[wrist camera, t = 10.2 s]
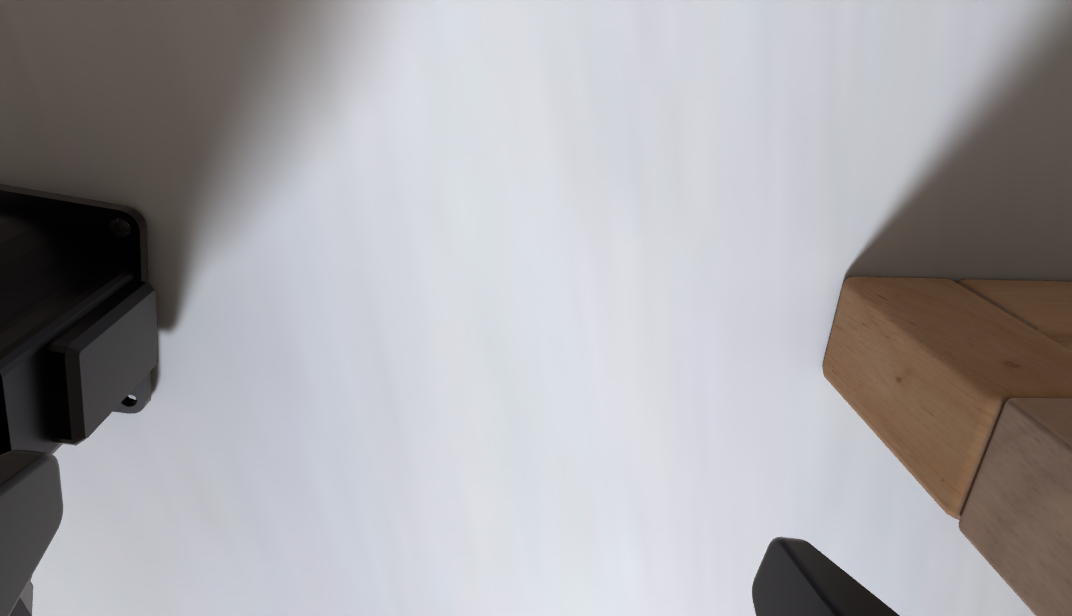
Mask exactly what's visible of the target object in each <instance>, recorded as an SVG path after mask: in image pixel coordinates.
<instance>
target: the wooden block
mask: <svg viewBox="0 0 1072 616" xmlns="http://www.w3.org/2000/svg"><path fill="white" fill-rule="evenodd" d="M823 373H824V377H825V378H826V379H827V380H828V381H829V382H830V383H831V384H832V386H833V387H834V388H835V389H836V390H837V391H838V392H839V393H840V394H841V396H842V397H843V398H844V399H845V400H846V401H847V402H848V403H849V405H850V406H851V407H852V408H853V409H854V410H855V411H856V412H857V414H858V415H859V416H860V417H861V418H862V419H863V420H864V421H865V423H866V424H867V425H868V426H869V427H870V428H871V429H872V430H873V432H874V433H875V434H876V435H877V436H878V437H879V438H880V439H881V440H882V442H883V443H884V444H885V445H886V446H887V447H888V448H889V449H890V451H891V452H892V453H893V454H894V455H895V456H896V457H897V458H898V460H899V461H900V462H901V463H902V464H903V465H904V466H905V467H906V469H907V470H908V471H909V472H910V473H911V474H912V475H913V476H914V477H915V479H916V480H917V481H918V482H919V483H920V484H921V485H922V486H923V488H924V489H925V490H926V491H927V492H928V493H929V494H930V495H931V497H932V498H933V499H934V500H935V501H936V502H937V503H938V504H939V506H940V507H941V508H942V509H943V510H944V511H945V512H946V513H947V514H948V515H950V516H952V517H953V518H956V519H959V520H960V521H959V528H960V531H961V532H962V533H963V534H964V535H965V537H966V538H967V539H968V540H969V541H970V542H971V543H972V544H973V546H974V547H975V548H976V549H977V550H978V551H979V552H980V553H981V555H982V556H983V557H984V558H985V559H986V560H987V561H988V562H989V564H990V565H991V566H992V567H993V568H994V569H995V570H996V571H997V573H998V574H999V575H1000V576H1001V577H1002V578H1003V579H1004V580H1005V582H1006V583H1007V584H1008V585H1009V586H1010V587H1011V588H1012V589H1013V591H1014V592H1015V593H1016V594H1017V595H1018V596H1019V597H1020V598H1021V600H1022V601H1023V602H1024V603H1025V604H1026V605H1027V606H1028V607H1029V609H1030V610H1031V611H1032V612H1033V613H1034V614H1035V615H1036V616H1072V282H1065V281H1023V280H980V279H963V280H960V281H958V283H956V282H954V281H952V280H950V279H948V278H907V277H864V276H853V277H850V278H847V279H846V280H845V282H844V283H843V286H842V290H841V294H840V298H839V302H838V306H837V310H836V314H835V318H834V322H833V326H832V330H831V334H830V338H829V342H828V346H827V350H826V354H825V358H824V362H823Z"/></svg>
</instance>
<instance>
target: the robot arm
mask: <svg viewBox="0 0 1072 616" xmlns="http://www.w3.org/2000/svg"><path fill="white" fill-rule="evenodd" d="M118 219H122V220H124V221H126V222H127V223H128V224H129V226H130V229H131V230H130V232H126V231H123V230H122V229H121V228H120V227H119V224H118ZM157 362H158V351H157V308H156V290H155V289H154V287H153V286H152V284H151V283H150V282H148V250H147V225H146V221H145V219H144V217H143V216H142V215H141V213H139V212H138V211H137V210H135V209H134V208H131V207H128V206H123V205H117V204H111V203H106V202H100V201H94V200H88V199H82V198H76V197H70V196H64V195H59V194H53V193H47V192H41V191H35V190H29V189H23V188H17V187H12V186H6V185H0V616H32V601H33V585H32V583H31V581H30V580H31V577H32V574H33V572H34V571H35V569H36V567H37V565H38V564H39V562H40V560H41V558H42V557H43V555H44V553H45V551H46V549H47V548H48V546H49V544H50V542H51V541H52V539H53V537H54V535H55V533H56V532H57V530H58V528H59V525H60V523H61V519H62V515H63V500H62V491H61V481H60V472H59V464H58V460H57V459H56V457H55V456H54V455H52V454H53V453H54V452H55V451H56V450H57V449H58V448H59V447H60V446H61V445H62V444H68V445H78V444H79V443H81V442H82V441H84V440H85V439H86V438H88V437H89V436H90V435H91V434H92V433H93V432H94V431H95V429H96V428H97V427H98V426H99V425H100V424H101V423H102V422H103V421H104V420H105V419H106V418H107V417H108V416H109V415H110V414H111V412H112V411H114V412H122V413H137V412H140V411H141V410H142V409H143V408H144V407H145V406H146V405H147V403H148V402H149V401H150V400H151V395H152V392H151V370H152V369H153V368H154V367H155V366H156V364H157ZM129 393H131V394H133V395H134V396H135V397H136V399H137V400H134V399H131V398H129V397H128V396H127V395H128V394H129ZM752 598H753V604H754V608H755V613H756V616H899V615H898V614H897V613H896V612H894V611H893V610H892V609H891V608H889V607H888V606H887V605H886V604H885V603H883V602H882V601H881V600H880V599H878V598H877V597H876V596H875V595H873V594H872V593H871V592H870V591H868V590H867V589H866V588H865V587H863V586H862V585H861V584H860V583H858V582H857V581H856V580H855V579H853V578H852V577H851V576H850V575H848V574H847V573H846V572H845V571H843V570H842V569H841V568H840V567H838V566H837V565H836V564H835V563H833V562H832V561H831V560H830V559H828V558H827V557H826V556H825V555H823V554H822V553H821V552H820V551H818V550H817V549H816V548H815V547H813V546H812V545H811V544H810V543H808V542H807V541H805V540H802V539H794V538H786V537H777V538H775V539H773V540H772V541H771V542H770V544H769V546H768V548H767V551H766V553H765V555H764V558H763V560H762V562H761V565H760V567H759V569H758V572H757V574H756V576H755V578H754V582H753V586H752Z"/></svg>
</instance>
